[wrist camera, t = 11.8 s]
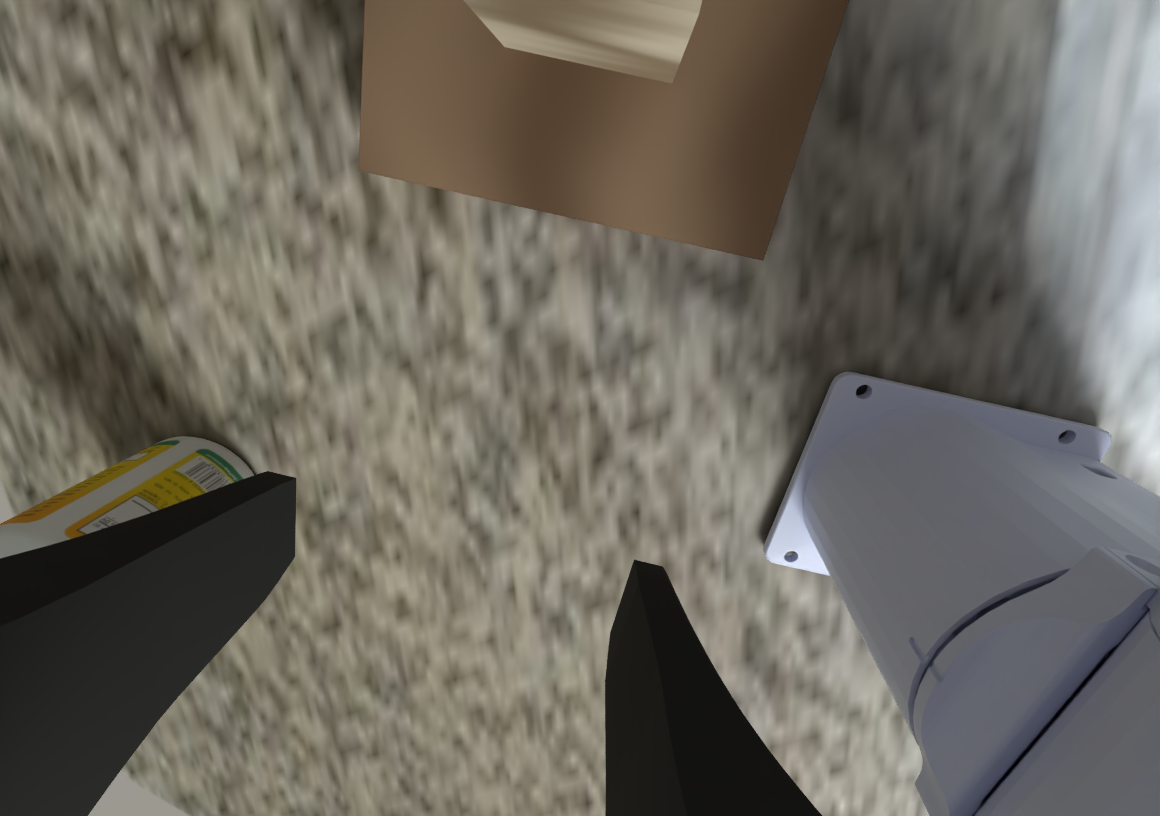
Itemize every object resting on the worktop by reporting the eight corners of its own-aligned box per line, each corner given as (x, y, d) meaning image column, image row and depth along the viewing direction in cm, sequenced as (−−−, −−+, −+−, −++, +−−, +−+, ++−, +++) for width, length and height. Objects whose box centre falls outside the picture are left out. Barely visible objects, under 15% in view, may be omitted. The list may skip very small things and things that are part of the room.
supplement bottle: (272, 453, 22) (27, 633, 13) (265, 555, 24) (50, 770, 15) (143, 415, 22) (-194, 571, 13) (147, 521, 24) (-140, 718, 15)
